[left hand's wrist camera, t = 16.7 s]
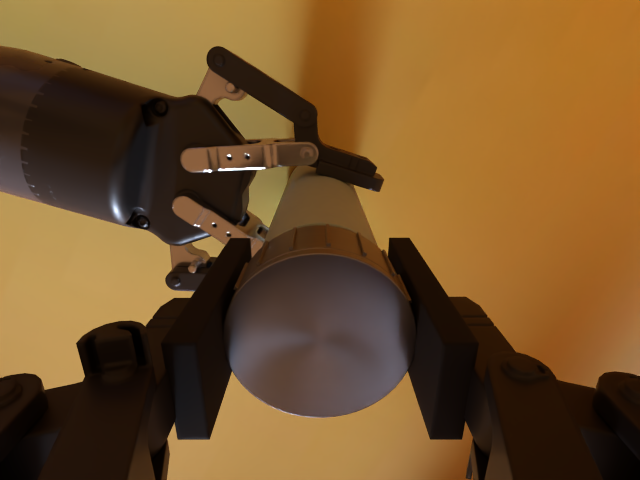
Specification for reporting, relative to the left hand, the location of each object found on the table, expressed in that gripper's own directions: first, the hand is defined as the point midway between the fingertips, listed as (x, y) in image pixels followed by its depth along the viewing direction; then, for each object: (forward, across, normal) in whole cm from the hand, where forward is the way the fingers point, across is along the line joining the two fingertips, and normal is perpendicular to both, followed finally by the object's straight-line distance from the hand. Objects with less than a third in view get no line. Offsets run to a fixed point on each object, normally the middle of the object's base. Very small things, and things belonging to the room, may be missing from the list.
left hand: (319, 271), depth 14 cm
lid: (-4, 0, 0) cm, 4 cm away
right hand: (+8, -2, +1) cm, 8 cm away
